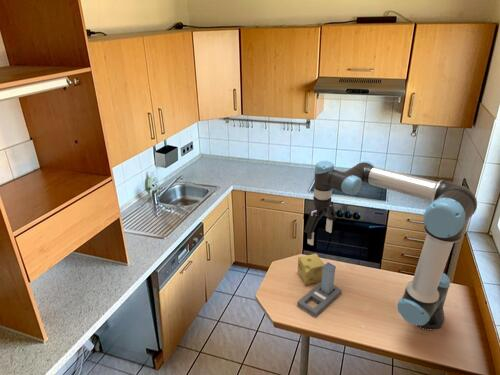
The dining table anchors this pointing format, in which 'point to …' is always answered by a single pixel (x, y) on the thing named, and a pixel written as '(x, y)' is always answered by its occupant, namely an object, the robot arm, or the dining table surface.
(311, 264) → the cheese
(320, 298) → the port panel
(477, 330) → the dining table surface
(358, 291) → the dining table surface
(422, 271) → the robot arm
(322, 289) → the plug
